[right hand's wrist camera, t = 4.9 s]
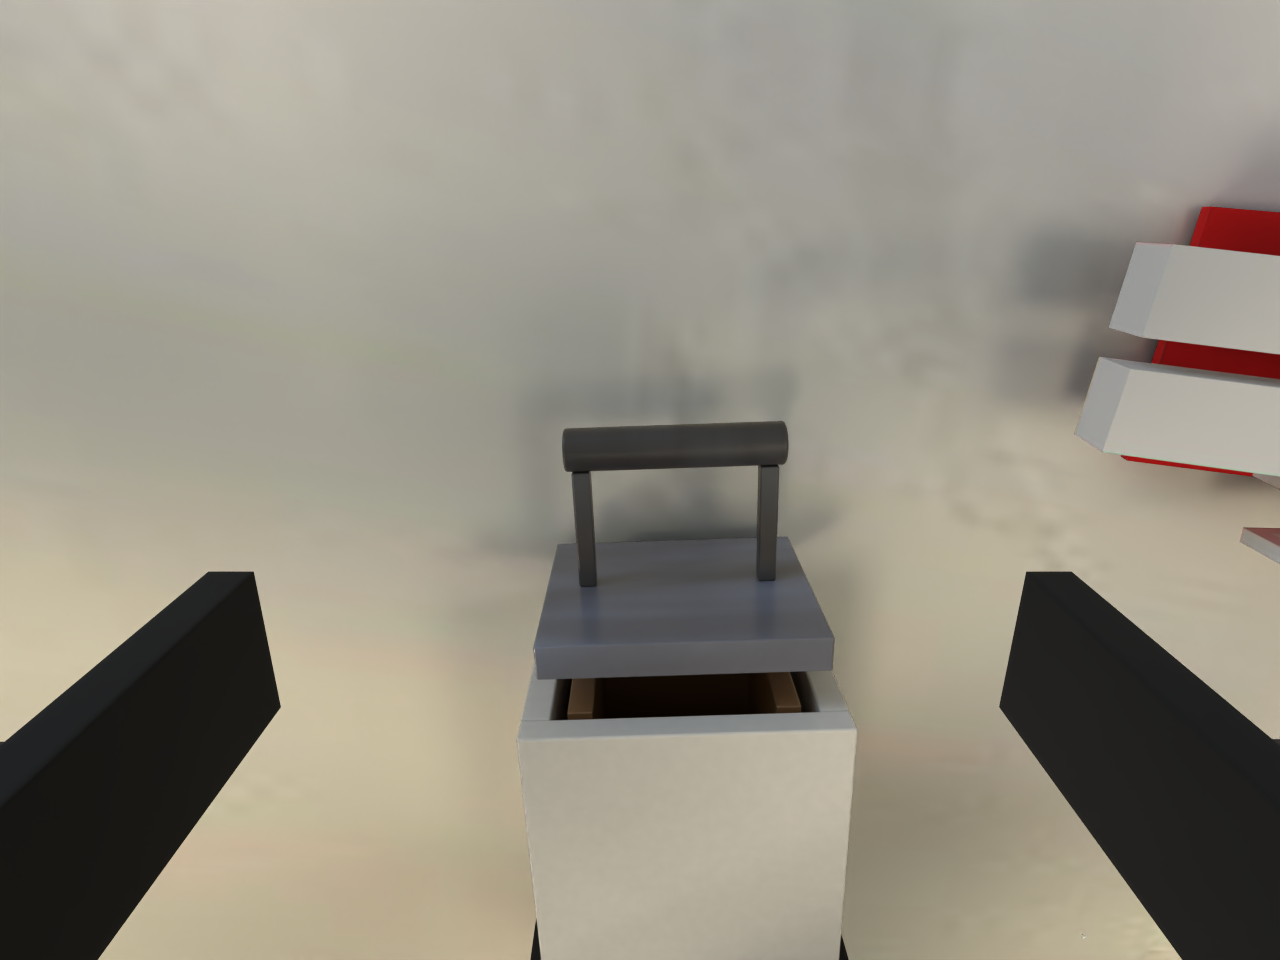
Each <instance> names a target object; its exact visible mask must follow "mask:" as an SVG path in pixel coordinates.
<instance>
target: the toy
mask: <svg viewBox="0 0 1280 960" xmlns="http://www.w3.org/2000/svg"><path fill="white" fill-rule="evenodd" d="M1109 328H1112V329H1115V330H1119V331H1122V332H1125V333H1129V334H1132V335H1135V336H1139V337H1142V338H1150V339H1159V341H1158V344H1157V347H1156V350H1155V353H1154V356H1153V359H1152V362H1151V363H1145V362H1137V361H1129V360H1121V359H1114V358H1106V357H1099V359H1098V362H1097V365H1096V368H1095V371H1094V374H1093V377H1092V380H1091V383H1090V386H1089V390H1088V393H1087V396H1086V399H1085V402H1084V405H1083V408H1082V411H1081V414H1080V417H1079V420H1078V423H1077V426H1076V429H1075V432H1074V434H1075V435H1077V436H1078V437H1080V438H1081V439H1083V440H1084V441H1086V442H1087V443H1089V444H1090V445H1092V446H1093V447H1095V448H1097V449H1098V450H1100V451H1101V452H1104V453H1112V454H1119V455H1121V457H1123V458H1124V459H1126V460H1128V461H1136V462H1143V463H1151V464H1159V465H1167V466H1175V467H1182V468H1190V469H1198V470H1206V471H1213V472H1221V473H1229V474H1237V475H1245V476H1252V477H1256V478H1258V479H1260V480H1262V481H1264V482H1266V483H1268V484H1270V485H1272V486H1274V487H1276V488H1278V489H1279V490H1280V212H1268V211H1257V210H1245V209H1233V208H1221V207H1202V209H1201V212H1200V215H1199V218H1198V221H1197V224H1196V227H1195V230H1194V234H1193V237H1192V240H1191V243H1190V246H1185V245H1176V244H1162V243H1145V242H1136V245H1135V248H1134V251H1133V254H1132V258H1131V261H1130V264H1129V267H1128V270H1127V273H1126V276H1125V279H1124V282H1123V285H1122V288H1121V291H1120V294H1119V297H1118V301H1117V304H1116V307H1115V310H1114V313H1113V316H1112V319H1111V322H1110V325H1109ZM1240 542H1241V543H1243V544H1245V545H1247V546H1248V547H1250V548H1252V549H1254V550H1256V551H1257V552H1259V553H1261V554H1263V555H1265V556H1266V557H1268V558H1270V559H1272V560H1274V561H1275V562H1277V563H1279V564H1280V528H1244V527H1243V531H1242V535H1241V539H1240Z"/></svg>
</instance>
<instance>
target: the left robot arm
mask: <svg viewBox="0 0 1280 960" xmlns="http://www.w3.org/2000/svg"><path fill="white" fill-rule="evenodd" d="M531 960H541V954H540V945H539V936H538V927H537V918H536V924H535V931H534V939H533V946H532V953H531ZM839 960H848V956H847V952H846V949H845V945H844V942H843V938H842V935H841V940H840V953H839Z"/></svg>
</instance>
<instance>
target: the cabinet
mask: <svg viewBox="0 0 1280 960" xmlns="http://www.w3.org/2000/svg"><path fill="white" fill-rule="evenodd" d="M790 674H791V677H792V680H793V683H794V686H795V689H796V692H797V695H798V698H799V701H800V704H801V713H775V714H743V715H711V716H679V717H647V718H615V719H583V720H568V714H567V713H568V706H569V699H570V692H571V684H572V679H548V680H537V678H536V670H535V661H534V666H533V670H532V674H531V679H530V683H529V688H528V692H527V696H526V701H525V705H524V710H523V714H522V718H521V724H520V728H519V732H518V737H517V748H518V757H519V766H520V775H521V784H522V793H523V802H524V811H525V820H526V829H527V838H528V847H529V856H530V865H531V873H532V882H533V891H534V900H535V909H536V918H537V927H538V936H539V945H540V954H541V960H839V953H840V940H841V928H842V916H843V903H844V891H845V879H846V866H847V854H848V842H849V829H850V817H851V805H852V792H853V780H854V768H855V755H856V743H857V731H858V730H857V728H856V725H855V723H854V721H853V718H852V716H851V714H850V712H849V709H848V706H847V704H846V702H845V699H844V697H843V695H842V692H841V690H840V688H839V685H838V683H837V681H836V678H835V676H834V674H833V671H832V670H831V671H801V672H790Z"/></svg>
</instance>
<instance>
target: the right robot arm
mask: <svg viewBox="0 0 1280 960" xmlns="http://www.w3.org/2000/svg"><path fill="white" fill-rule="evenodd" d="M280 707H281V706H280V701H279V696H278V691H277V686H276V681H275V676H274V671H273V666H272V661H271V656H270V651H269V646H268V641H267V636H266V631H265V626H264V621H263V616H262V611H261V606H260V601H259V596H258V591H257V586H256V581H255V576H254V572H208V573H206V574H205V575H204V576H203V577H202V578H200V579H199V580H198V581H197V582H196V583H194V584H193V585H192V586H191V587H190V588H188V589H187V590H186V591H185V592H184V593H182V594H181V595H180V596H179V597H178V598H176V599H175V600H174V601H173V602H172V603H170V604H169V605H168V606H167V607H166V608H164V609H163V610H162V611H161V612H160V613H158V614H157V615H156V616H155V617H154V618H152V619H151V620H150V621H149V622H148V623H146V624H145V625H144V626H143V627H142V628H141V629H139V630H138V631H137V632H136V633H135V634H133V635H132V636H131V637H130V638H129V639H127V640H126V641H125V642H124V643H123V644H121V645H120V646H119V647H118V648H117V649H115V650H114V651H113V652H112V653H111V654H109V655H108V656H107V657H106V658H105V659H103V660H102V661H101V662H100V663H99V664H97V665H96V666H95V667H94V668H93V669H91V670H90V671H89V672H88V673H87V674H85V675H84V676H83V677H82V678H81V679H79V680H78V681H77V682H76V683H75V684H73V685H72V686H71V687H70V688H69V689H67V690H66V691H65V692H64V693H63V694H61V695H60V696H59V697H58V698H57V699H55V700H54V701H53V702H52V703H51V704H49V705H48V706H47V707H46V708H45V709H44V710H42V711H41V712H40V713H39V714H38V715H36V716H35V717H34V718H33V719H32V720H30V721H29V722H28V723H27V724H26V725H24V726H23V727H22V728H21V729H20V730H18V731H17V732H16V733H15V734H14V735H12V736H11V737H10V738H9V739H8V740H6V741H5V742H0V960H98V958H99V957H100V956H101V954H102V953H103V952H104V950H105V949H106V947H107V946H108V945H109V943H110V942H111V941H112V939H113V938H114V936H115V935H116V934H117V932H118V931H119V930H120V928H121V927H122V925H123V924H124V923H125V921H126V920H127V918H128V917H129V916H130V914H131V913H132V912H133V910H134V909H135V907H136V906H137V905H138V903H139V902H140V901H141V899H142V898H143V896H144V895H145V894H146V892H147V891H148V890H149V888H150V887H151V885H152V884H153V883H154V881H155V880H156V878H157V877H158V876H159V874H160V873H161V872H162V870H163V869H164V867H165V866H166V865H167V863H168V862H169V861H170V859H171V858H172V856H173V855H174V854H175V852H176V851H177V850H178V848H179V847H180V845H181V844H182V843H183V841H184V840H185V838H186V837H187V836H188V834H189V833H190V832H191V830H192V829H193V827H194V826H195V825H196V823H197V822H198V821H199V819H200V818H201V816H202V815H203V814H204V812H205V811H206V809H207V808H208V807H209V805H210V804H211V803H212V801H213V800H214V798H215V797H216V796H217V794H218V793H219V792H220V790H221V789H222V787H223V786H224V785H225V783H226V782H227V781H228V779H229V778H230V776H231V775H232V774H233V772H234V771H235V769H236V768H237V767H238V765H239V764H240V763H241V761H242V760H243V758H244V757H245V756H246V754H247V753H248V752H249V750H250V749H251V747H252V746H253V745H254V743H255V742H256V741H257V739H258V738H259V736H260V735H261V734H262V732H263V731H264V729H265V728H266V727H267V725H268V724H269V723H270V721H271V720H272V718H273V717H274V716H275V714H276V713H277V712H278V710H279V709H280ZM999 707H1000V709H1001V710H1002V712H1003V713H1004V714H1005V716H1006V717H1007V718H1008V720H1009V721H1010V723H1011V724H1012V725H1013V727H1014V728H1015V729H1016V731H1017V732H1018V734H1019V735H1020V736H1021V738H1022V739H1023V741H1024V742H1025V743H1026V745H1027V746H1028V747H1029V749H1030V750H1031V752H1032V753H1033V754H1034V756H1035V757H1036V758H1037V760H1038V761H1039V763H1040V764H1041V765H1042V767H1043V768H1044V769H1045V771H1046V772H1047V774H1048V775H1049V776H1050V778H1051V779H1052V781H1053V782H1054V783H1055V785H1056V786H1057V787H1058V789H1059V790H1060V792H1061V793H1062V794H1063V796H1064V797H1065V798H1066V800H1067V801H1068V803H1069V804H1070V805H1071V807H1072V808H1073V809H1074V811H1075V812H1076V814H1077V815H1078V816H1079V818H1080V819H1081V821H1082V822H1083V823H1084V825H1085V826H1086V827H1087V829H1088V830H1089V832H1090V833H1091V834H1092V836H1093V837H1094V838H1095V840H1096V841H1097V843H1098V844H1099V845H1100V847H1101V848H1102V850H1103V851H1104V852H1105V854H1106V855H1107V856H1108V858H1109V859H1110V861H1111V862H1112V863H1113V865H1114V866H1115V867H1116V869H1117V870H1118V872H1119V873H1120V874H1121V876H1122V877H1123V878H1124V880H1125V881H1126V883H1127V884H1128V885H1129V887H1130V888H1131V890H1132V891H1133V892H1134V894H1135V895H1136V896H1137V898H1138V899H1139V901H1140V902H1141V903H1142V905H1143V906H1144V907H1145V909H1146V910H1147V912H1148V913H1149V914H1150V916H1151V917H1152V918H1153V920H1154V921H1155V923H1156V924H1157V925H1158V927H1159V928H1160V930H1161V931H1162V932H1163V934H1164V935H1165V936H1166V938H1167V939H1168V941H1169V942H1170V943H1171V945H1172V946H1173V947H1174V949H1175V950H1176V952H1177V953H1178V954H1179V956H1180V957H1181V958H1182V960H1280V739H1271V738H1270V737H1269V736H1268V735H1266V734H1265V733H1264V732H1263V731H1262V730H1260V729H1259V728H1258V727H1257V726H1256V725H1254V724H1253V723H1252V722H1251V721H1250V720H1248V719H1247V718H1246V717H1245V716H1244V715H1242V714H1241V713H1240V712H1239V711H1238V710H1236V709H1235V708H1234V707H1233V706H1232V705H1231V704H1229V703H1228V702H1227V701H1226V700H1225V699H1223V698H1222V697H1221V696H1220V695H1219V694H1217V693H1216V692H1215V691H1214V690H1213V689H1211V688H1210V687H1209V686H1208V685H1207V684H1205V683H1204V682H1203V681H1202V680H1201V679H1199V678H1198V677H1197V676H1196V675H1195V674H1193V673H1192V672H1191V671H1190V670H1189V669H1187V668H1186V667H1185V666H1184V665H1183V664H1181V663H1180V662H1179V661H1178V660H1177V659H1175V658H1174V657H1173V656H1172V655H1171V654H1169V653H1168V652H1167V651H1166V650H1165V649H1163V648H1162V647H1161V646H1160V645H1159V644H1157V643H1156V642H1155V641H1154V640H1153V639H1151V638H1150V637H1149V636H1148V635H1147V634H1145V633H1144V632H1143V631H1142V630H1141V629H1139V628H1138V627H1137V626H1136V625H1135V624H1134V623H1132V622H1131V621H1130V620H1129V619H1128V618H1126V617H1125V616H1124V615H1123V614H1122V613H1120V612H1119V611H1118V610H1117V609H1116V608H1114V607H1113V606H1112V605H1111V604H1110V603H1108V602H1107V601H1106V600H1105V599H1104V598H1102V597H1101V596H1100V595H1099V594H1098V593H1096V592H1095V591H1094V590H1093V589H1092V588H1090V587H1089V586H1088V585H1087V584H1086V583H1084V582H1083V581H1082V580H1081V579H1080V578H1078V577H1077V576H1076V575H1075V574H1074V573H1072V572H1026V576H1025V581H1024V586H1023V591H1022V596H1021V601H1020V606H1019V611H1018V616H1017V621H1016V626H1015V631H1014V636H1013V641H1012V646H1011V651H1010V656H1009V661H1008V666H1007V671H1006V676H1005V681H1004V686H1003V691H1002V696H1001V701H1000V706H999Z"/></svg>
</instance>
